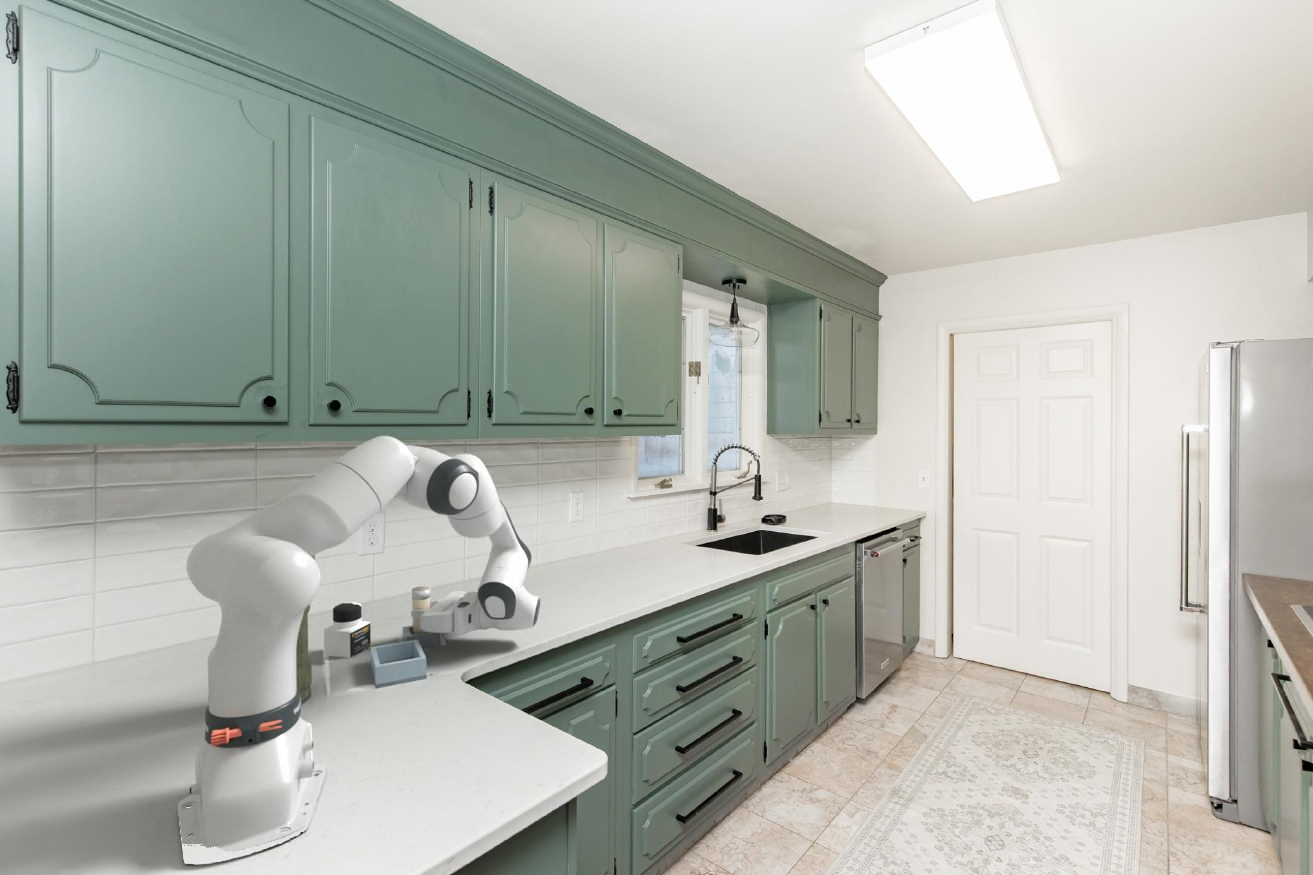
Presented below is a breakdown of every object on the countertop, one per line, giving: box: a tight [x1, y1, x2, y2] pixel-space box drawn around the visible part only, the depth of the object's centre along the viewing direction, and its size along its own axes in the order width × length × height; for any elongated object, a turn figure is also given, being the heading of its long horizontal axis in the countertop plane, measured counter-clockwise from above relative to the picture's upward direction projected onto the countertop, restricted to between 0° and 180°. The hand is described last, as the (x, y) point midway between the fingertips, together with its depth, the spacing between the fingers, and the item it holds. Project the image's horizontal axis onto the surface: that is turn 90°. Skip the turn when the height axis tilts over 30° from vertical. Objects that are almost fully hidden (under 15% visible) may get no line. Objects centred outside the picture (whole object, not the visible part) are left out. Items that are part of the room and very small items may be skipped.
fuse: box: [411, 586, 431, 634], centre depth 150 cm, size 4×4×13 cm
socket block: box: [396, 625, 447, 650], centre depth 151 cm, size 10×10×4 cm
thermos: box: [296, 554, 316, 705], centre depth 121 cm, size 9×12×35 cm
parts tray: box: [369, 640, 427, 689], centre depth 135 cm, size 12×10×4 cm
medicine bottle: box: [323, 601, 372, 661], centre depth 144 cm, size 7×7×12 cm
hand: (417, 609), depth 150 cm, fingers open, 4 cm apart
